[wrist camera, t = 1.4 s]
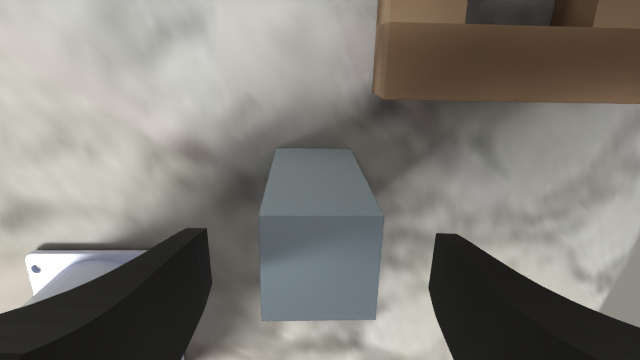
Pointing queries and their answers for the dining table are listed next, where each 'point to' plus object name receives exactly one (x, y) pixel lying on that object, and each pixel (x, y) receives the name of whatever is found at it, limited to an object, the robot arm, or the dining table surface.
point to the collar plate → (508, 54)
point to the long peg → (319, 238)
